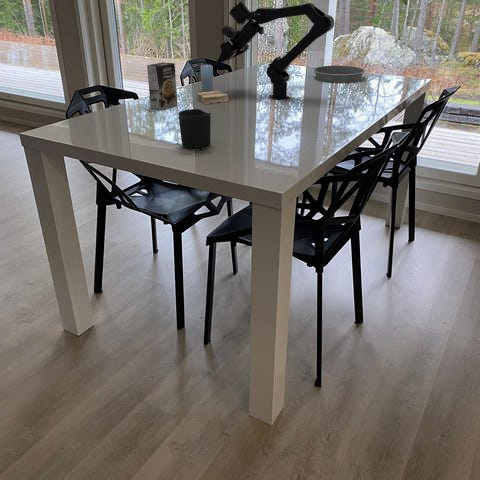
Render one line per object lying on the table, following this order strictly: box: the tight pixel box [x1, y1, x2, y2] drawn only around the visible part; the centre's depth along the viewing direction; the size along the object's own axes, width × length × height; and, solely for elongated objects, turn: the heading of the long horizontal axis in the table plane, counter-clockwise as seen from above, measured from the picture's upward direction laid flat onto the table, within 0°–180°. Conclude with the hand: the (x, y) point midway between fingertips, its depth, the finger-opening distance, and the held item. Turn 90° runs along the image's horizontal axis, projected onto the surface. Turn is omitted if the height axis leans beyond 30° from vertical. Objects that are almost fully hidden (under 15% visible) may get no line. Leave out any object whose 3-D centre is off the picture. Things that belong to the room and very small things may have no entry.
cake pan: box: [313, 64, 366, 84], centre depth 235 cm, size 25×25×4 cm
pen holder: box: [178, 108, 212, 150], centre depth 145 cm, size 9×9×10 cm
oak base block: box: [196, 90, 229, 105], centre depth 198 cm, size 10×10×2 cm
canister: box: [200, 64, 214, 92], centre depth 210 cm, size 5×5×11 cm
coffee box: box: [146, 61, 178, 111], centre depth 186 cm, size 9×6×16 cm
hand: (222, 61), depth 204 cm, fingers open, 9 cm apart
